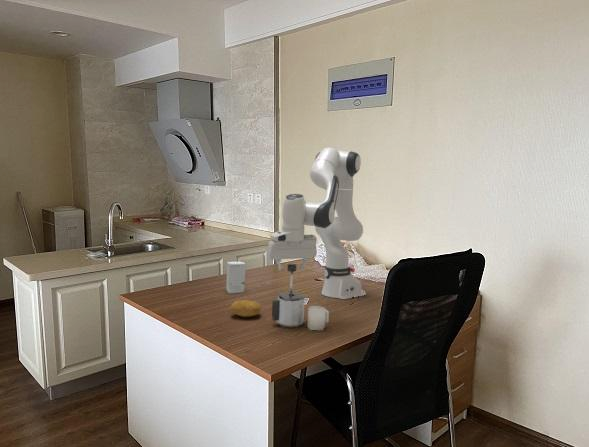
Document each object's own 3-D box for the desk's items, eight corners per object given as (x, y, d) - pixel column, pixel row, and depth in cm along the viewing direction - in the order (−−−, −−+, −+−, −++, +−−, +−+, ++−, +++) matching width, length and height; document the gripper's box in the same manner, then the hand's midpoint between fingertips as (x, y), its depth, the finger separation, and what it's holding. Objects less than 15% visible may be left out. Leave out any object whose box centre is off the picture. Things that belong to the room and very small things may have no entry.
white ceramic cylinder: (323, 323, 180) (323, 304, 179) (330, 329, 173) (331, 310, 172) (304, 325, 176) (305, 306, 175) (311, 332, 170) (312, 312, 169)
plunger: (295, 296, 182) (297, 262, 180) (303, 302, 176) (304, 266, 174) (278, 298, 180) (279, 263, 178) (285, 304, 173) (286, 267, 171)
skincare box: (228, 293, 216) (229, 264, 214) (225, 290, 221) (226, 261, 219) (245, 292, 219) (245, 263, 217) (241, 289, 224) (242, 260, 222)
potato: (259, 320, 180) (259, 304, 179) (228, 319, 181) (228, 303, 180) (261, 313, 190) (262, 297, 189) (232, 312, 190) (232, 296, 189)
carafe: (297, 317, 186) (298, 290, 184) (307, 326, 176) (308, 297, 174) (268, 320, 181) (268, 292, 179) (276, 329, 171) (277, 300, 170)
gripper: (313, 233, 181) (312, 266, 183) (266, 234, 173) (265, 268, 175) (320, 235, 175) (318, 269, 177) (271, 237, 167) (270, 272, 169)
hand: (291, 269), depth 176 cm, fingers open, 8 cm apart
